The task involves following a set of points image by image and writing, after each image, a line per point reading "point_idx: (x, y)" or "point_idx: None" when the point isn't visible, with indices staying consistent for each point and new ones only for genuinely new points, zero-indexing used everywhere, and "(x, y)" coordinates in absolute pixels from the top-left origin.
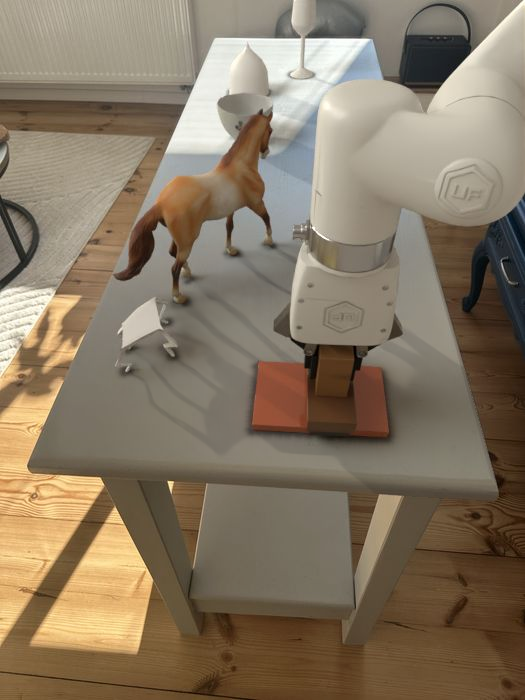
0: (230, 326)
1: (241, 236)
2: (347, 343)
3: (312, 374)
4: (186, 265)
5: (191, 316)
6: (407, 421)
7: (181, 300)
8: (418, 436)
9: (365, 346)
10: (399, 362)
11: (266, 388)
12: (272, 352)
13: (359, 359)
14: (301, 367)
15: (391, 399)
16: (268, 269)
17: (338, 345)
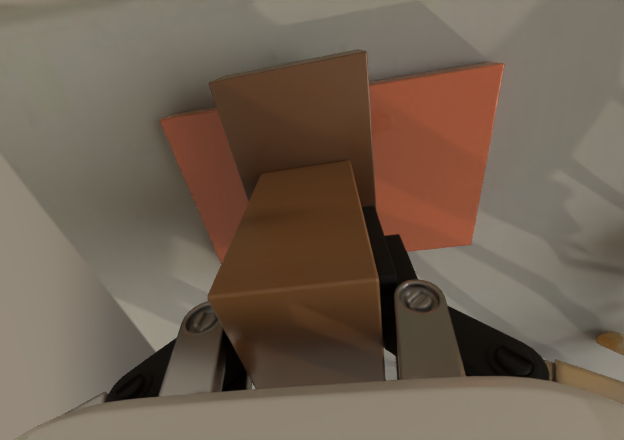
0: (514, 303)
1: None
2: (222, 419)
3: (372, 217)
4: None
5: (589, 311)
6: (144, 165)
7: (612, 338)
8: (109, 133)
9: (178, 361)
10: (201, 283)
11: (458, 181)
12: (434, 267)
13: None
14: None
15: (191, 209)
16: None
17: (297, 347)
